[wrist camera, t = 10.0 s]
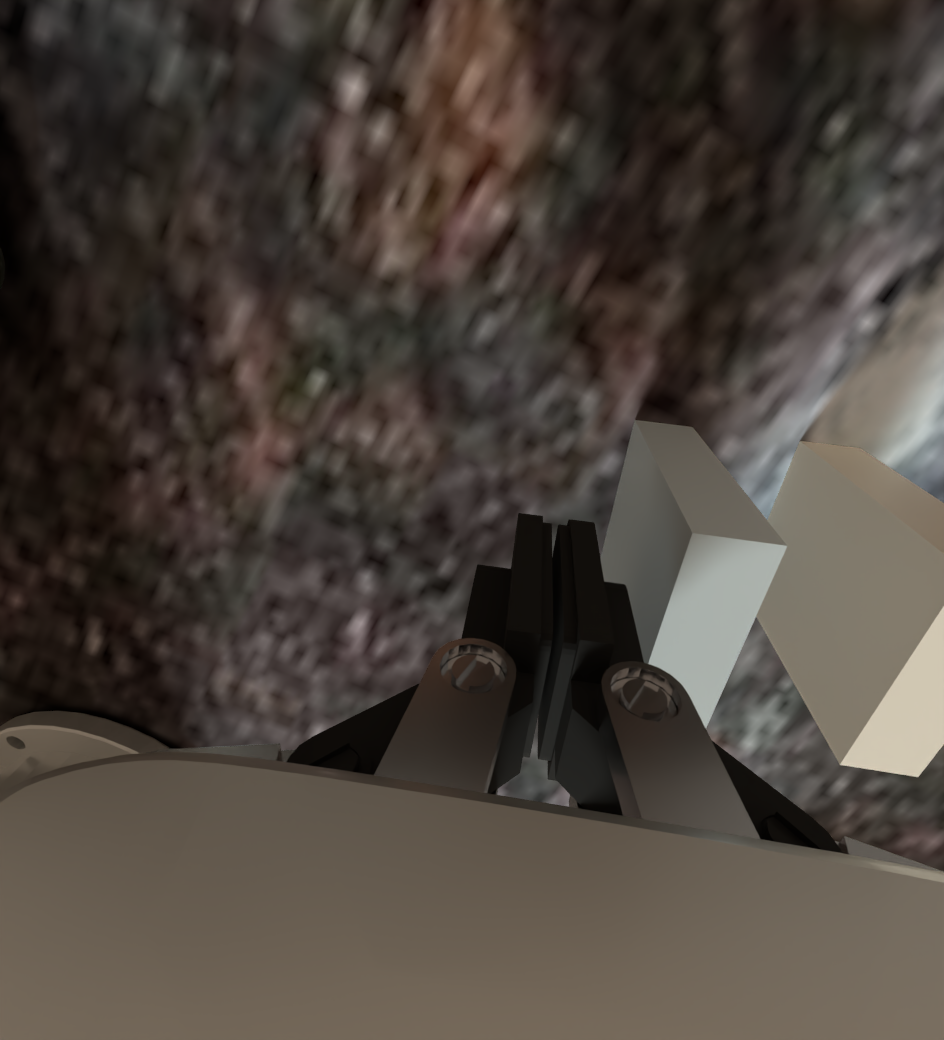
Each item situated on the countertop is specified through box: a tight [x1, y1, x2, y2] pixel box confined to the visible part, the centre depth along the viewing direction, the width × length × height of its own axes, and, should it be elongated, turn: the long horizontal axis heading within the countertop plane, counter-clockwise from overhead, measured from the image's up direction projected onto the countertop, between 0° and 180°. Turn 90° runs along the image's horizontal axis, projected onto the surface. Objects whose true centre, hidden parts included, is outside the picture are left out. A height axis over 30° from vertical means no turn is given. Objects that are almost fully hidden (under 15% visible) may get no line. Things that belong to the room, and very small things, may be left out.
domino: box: [756, 441, 944, 777], centre depth 13 cm, size 2×5×6 cm, turn 175°
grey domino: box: [600, 420, 787, 728], centre depth 13 cm, size 2×5×6 cm, turn 174°
